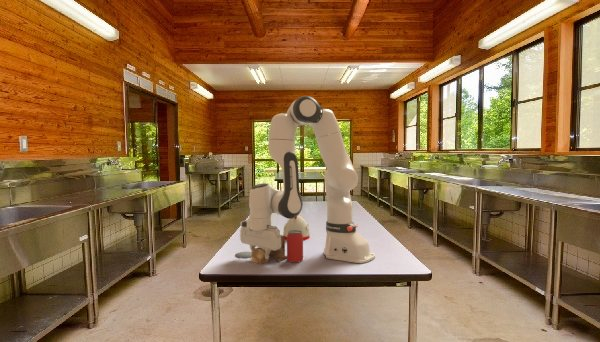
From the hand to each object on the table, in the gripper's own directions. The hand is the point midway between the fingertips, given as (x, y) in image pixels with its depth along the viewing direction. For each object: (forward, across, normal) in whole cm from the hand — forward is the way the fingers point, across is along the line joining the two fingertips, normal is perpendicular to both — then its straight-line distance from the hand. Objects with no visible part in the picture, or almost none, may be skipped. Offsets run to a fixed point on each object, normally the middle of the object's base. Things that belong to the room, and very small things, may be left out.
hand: (260, 257), depth 138 cm
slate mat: (+2, +11, -2) cm, 11 cm away
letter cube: (+2, 0, 0) cm, 2 cm away
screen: (+2, -1, -7) cm, 7 cm away
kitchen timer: (+2, +13, -40) cm, 42 cm away
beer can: (+2, -10, -10) cm, 14 cm away
